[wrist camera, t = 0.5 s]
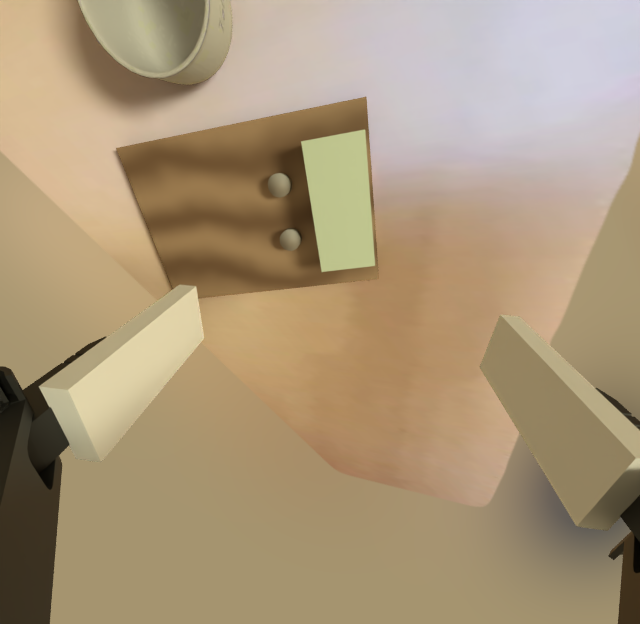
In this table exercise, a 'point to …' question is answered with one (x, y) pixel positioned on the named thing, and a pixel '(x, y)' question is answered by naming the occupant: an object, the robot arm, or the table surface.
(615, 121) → the table surface
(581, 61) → the table surface
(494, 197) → the table surface
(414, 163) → the table surface
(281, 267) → the board
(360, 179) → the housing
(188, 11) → the teacup
